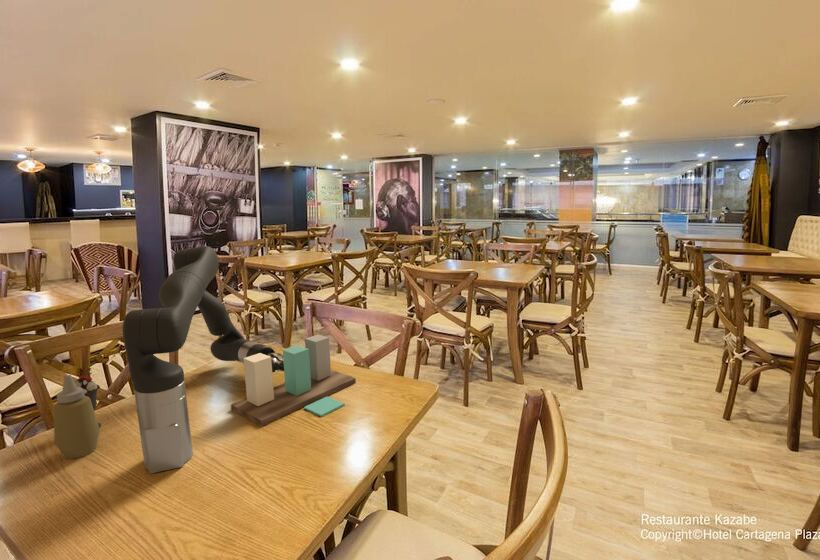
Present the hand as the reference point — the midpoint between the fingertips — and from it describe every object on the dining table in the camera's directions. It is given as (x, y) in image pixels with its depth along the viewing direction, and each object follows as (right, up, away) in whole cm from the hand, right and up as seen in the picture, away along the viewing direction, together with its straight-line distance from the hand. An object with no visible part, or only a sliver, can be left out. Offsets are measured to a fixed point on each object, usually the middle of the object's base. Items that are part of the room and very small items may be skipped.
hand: (291, 368), depth 125 cm
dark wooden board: (+2, -8, 0) cm, 8 cm away
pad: (+11, -9, -7) cm, 15 cm away
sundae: (-45, -11, -16) cm, 49 cm away
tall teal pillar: (+2, -6, 0) cm, 6 cm away
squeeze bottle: (-40, -13, -26) cm, 50 cm away
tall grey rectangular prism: (+6, -4, +9) cm, 12 cm away
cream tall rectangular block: (-7, -7, -6) cm, 11 cm away
